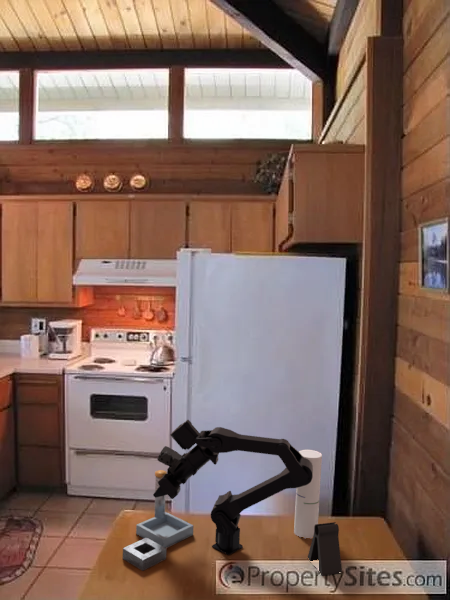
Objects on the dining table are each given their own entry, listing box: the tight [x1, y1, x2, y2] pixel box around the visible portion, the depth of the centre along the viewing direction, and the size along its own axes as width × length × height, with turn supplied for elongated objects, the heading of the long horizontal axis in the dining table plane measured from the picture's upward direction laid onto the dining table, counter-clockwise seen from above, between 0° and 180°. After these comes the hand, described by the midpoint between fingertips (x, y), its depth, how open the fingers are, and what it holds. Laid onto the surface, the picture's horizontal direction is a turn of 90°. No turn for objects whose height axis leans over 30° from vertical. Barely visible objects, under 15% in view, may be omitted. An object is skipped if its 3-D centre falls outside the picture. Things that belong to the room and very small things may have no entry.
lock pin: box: [154, 469, 167, 518], centre depth 165 cm, size 3×3×13 cm
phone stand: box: [307, 521, 343, 577], centre depth 155 cm, size 9×6×12 cm, turn 17°
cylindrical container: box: [293, 449, 323, 539], centre depth 172 cm, size 7×7×25 cm
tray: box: [135, 511, 194, 549], centre depth 168 cm, size 12×12×3 cm
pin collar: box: [122, 538, 167, 571], centre depth 155 cm, size 8×8×3 cm
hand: (155, 493), depth 165 cm, fingers closed on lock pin, 3 cm apart
